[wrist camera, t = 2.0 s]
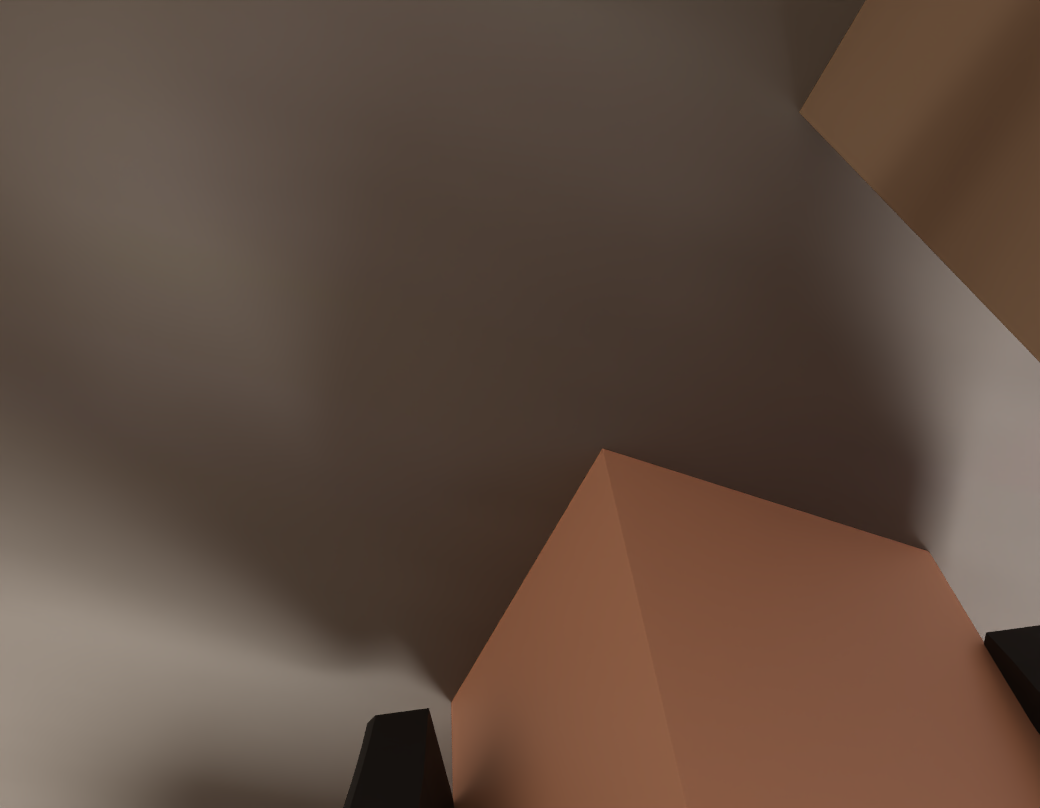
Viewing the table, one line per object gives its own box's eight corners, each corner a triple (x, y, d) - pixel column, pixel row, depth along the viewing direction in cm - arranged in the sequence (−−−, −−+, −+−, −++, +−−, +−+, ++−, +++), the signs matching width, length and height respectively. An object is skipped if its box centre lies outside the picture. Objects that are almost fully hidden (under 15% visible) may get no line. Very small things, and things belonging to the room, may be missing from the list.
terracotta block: (929, 550, 12) (1152, 920, 8) (739, 766, 14) (847, 1131, 10) (602, 447, 11) (692, 828, 7) (451, 702, 13) (458, 1092, 9)
